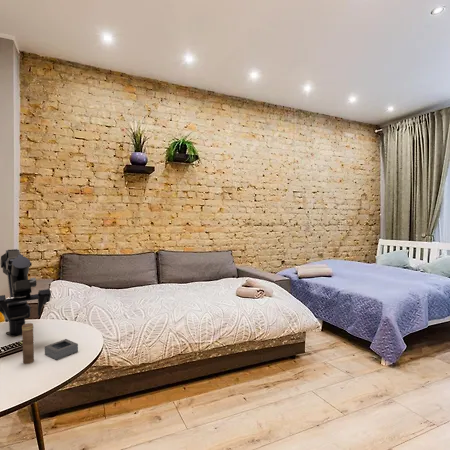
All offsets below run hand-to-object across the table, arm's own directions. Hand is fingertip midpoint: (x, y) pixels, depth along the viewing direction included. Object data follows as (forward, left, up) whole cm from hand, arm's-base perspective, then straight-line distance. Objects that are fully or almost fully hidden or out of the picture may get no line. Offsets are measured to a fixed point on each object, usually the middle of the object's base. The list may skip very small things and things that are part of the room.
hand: (24, 318), depth 115 cm
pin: (+8, -3, -13) cm, 15 cm away
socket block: (+11, +7, -13) cm, 18 cm away
